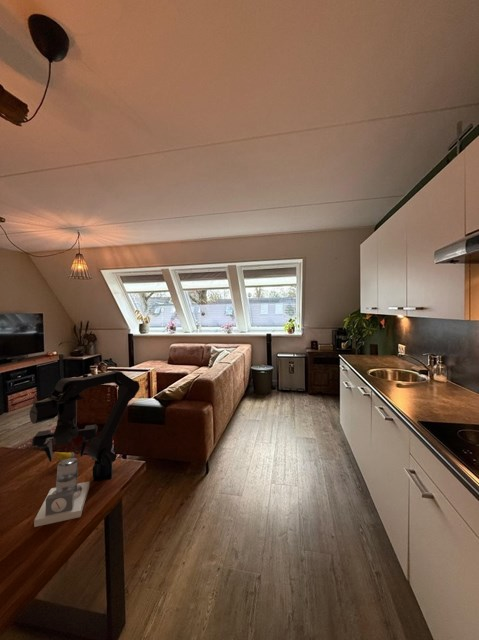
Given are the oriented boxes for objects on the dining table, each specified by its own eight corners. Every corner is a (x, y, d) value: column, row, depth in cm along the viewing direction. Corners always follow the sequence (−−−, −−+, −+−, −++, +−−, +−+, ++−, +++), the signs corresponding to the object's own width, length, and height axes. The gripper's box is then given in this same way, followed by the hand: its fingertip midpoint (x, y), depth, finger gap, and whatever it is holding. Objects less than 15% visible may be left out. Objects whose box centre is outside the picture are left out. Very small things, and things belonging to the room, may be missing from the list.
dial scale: (89, 486, 97) (89, 467, 97) (80, 516, 82) (80, 494, 82) (51, 494, 93) (51, 474, 93) (34, 527, 78) (34, 503, 78)
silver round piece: (78, 485, 93) (78, 471, 93) (74, 495, 88) (74, 480, 88) (58, 488, 91) (59, 474, 91) (53, 499, 86) (53, 484, 86)
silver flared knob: (79, 470, 94) (79, 456, 94) (75, 480, 88) (76, 465, 88) (59, 474, 91) (59, 459, 91) (54, 484, 86) (55, 468, 86)
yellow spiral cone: (76, 466, 112) (57, 456, 106) (66, 469, 113) (47, 460, 107) (81, 453, 116) (62, 444, 110) (71, 457, 117) (53, 448, 111)
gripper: (26, 426, 82) (25, 476, 82) (94, 418, 89) (93, 464, 89) (38, 414, 92) (37, 459, 92) (97, 408, 99) (97, 449, 99)
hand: (66, 458), depth 93 cm, fingers open, 9 cm apart
